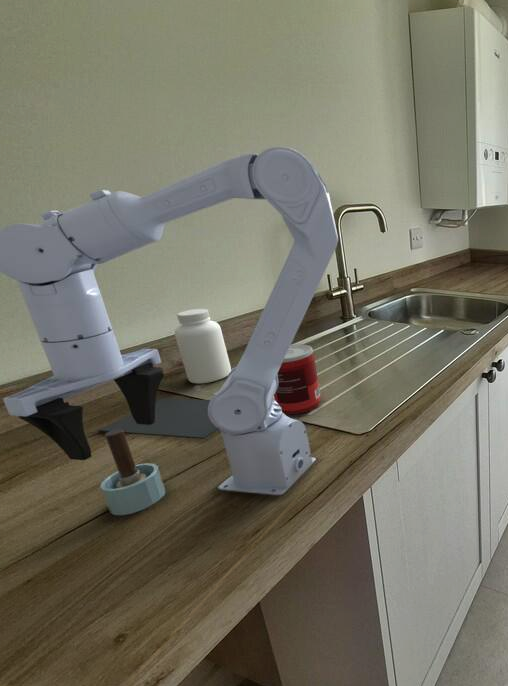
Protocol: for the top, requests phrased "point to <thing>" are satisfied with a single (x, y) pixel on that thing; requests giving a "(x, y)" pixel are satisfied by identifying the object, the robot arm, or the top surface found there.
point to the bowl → (133, 491)
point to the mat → (171, 420)
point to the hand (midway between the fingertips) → (115, 439)
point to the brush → (123, 459)
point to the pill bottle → (201, 347)
